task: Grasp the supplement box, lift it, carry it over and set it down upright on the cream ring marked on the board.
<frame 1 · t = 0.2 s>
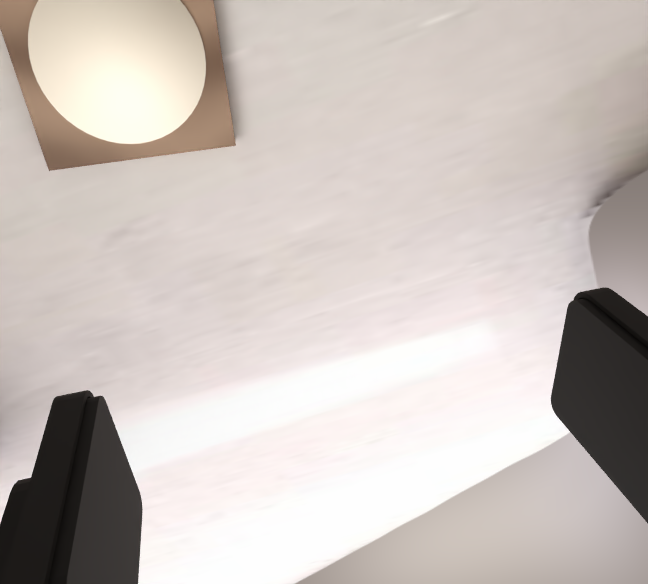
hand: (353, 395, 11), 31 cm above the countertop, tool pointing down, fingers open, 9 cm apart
target board: (122, 57, 34), on the countertop
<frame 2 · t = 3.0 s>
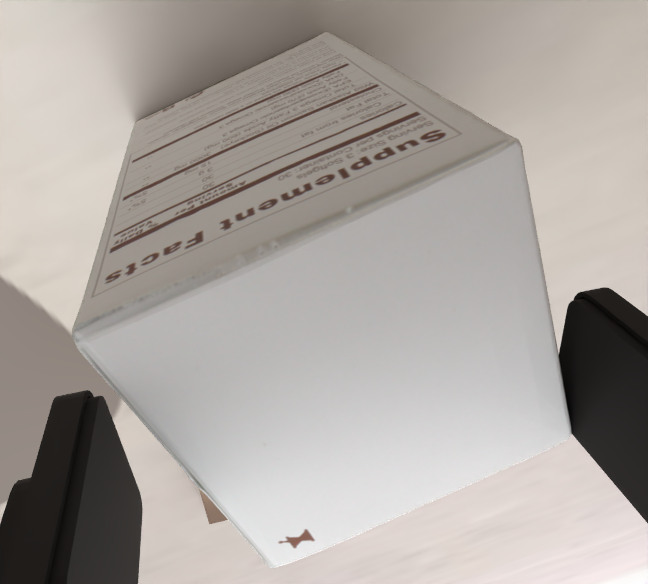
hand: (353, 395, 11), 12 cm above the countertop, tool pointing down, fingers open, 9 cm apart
supplement box: (272, 165, 20), on the countertop, touching gripper
target board: (311, 396, 27), on the countertop
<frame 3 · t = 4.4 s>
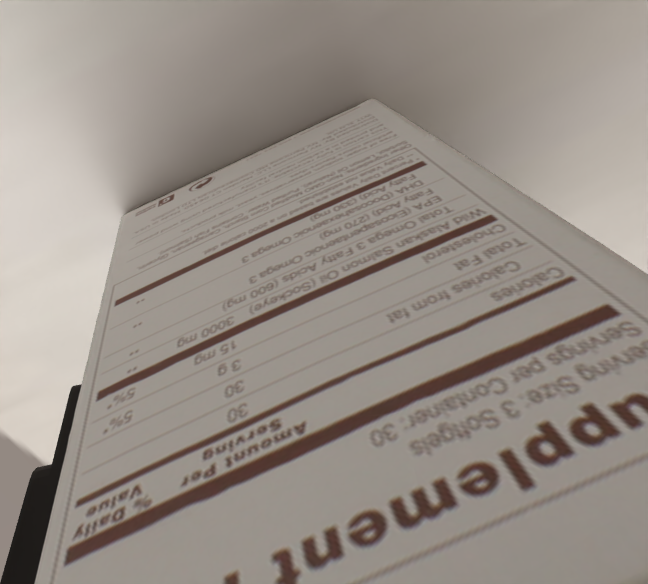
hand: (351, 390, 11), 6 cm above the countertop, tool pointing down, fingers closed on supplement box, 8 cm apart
supplement box: (297, 259, 16), on the countertop, touching gripper
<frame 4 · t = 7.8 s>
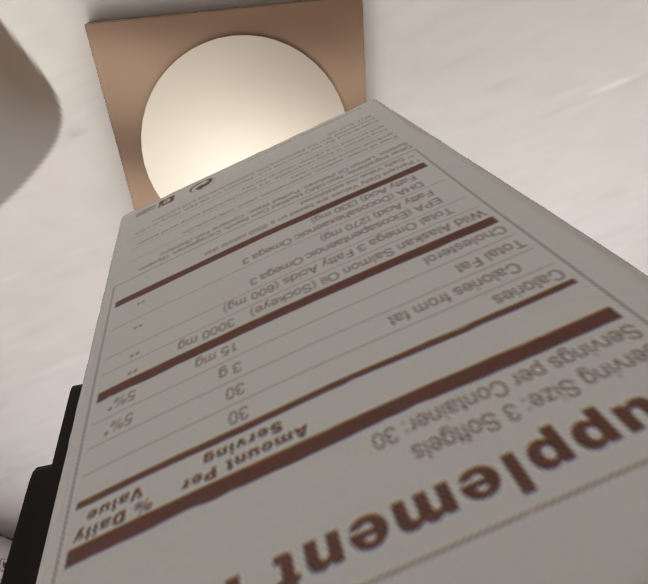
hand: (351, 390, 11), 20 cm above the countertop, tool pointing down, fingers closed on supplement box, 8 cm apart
supplement box: (297, 260, 16), point 14 cm above the countertop, touching gripper
target board: (246, 141, 28), on the countertop
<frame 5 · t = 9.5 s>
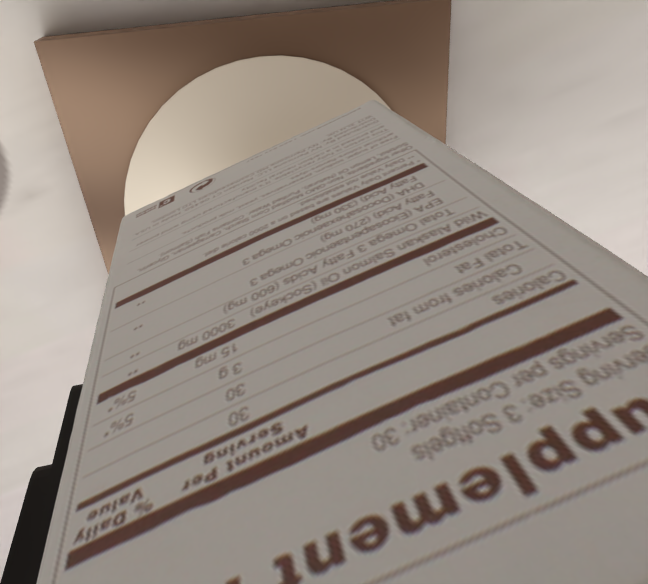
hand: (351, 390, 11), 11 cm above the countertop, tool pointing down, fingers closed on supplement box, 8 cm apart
supplement box: (297, 260, 16), point 5 cm above the countertop, touching gripper
target board: (273, 200, 20), on the countertop
when the fingers open (8 cm above the countertop, at t = 11.1 s): supplement box drops 1 cm, resting on target board.
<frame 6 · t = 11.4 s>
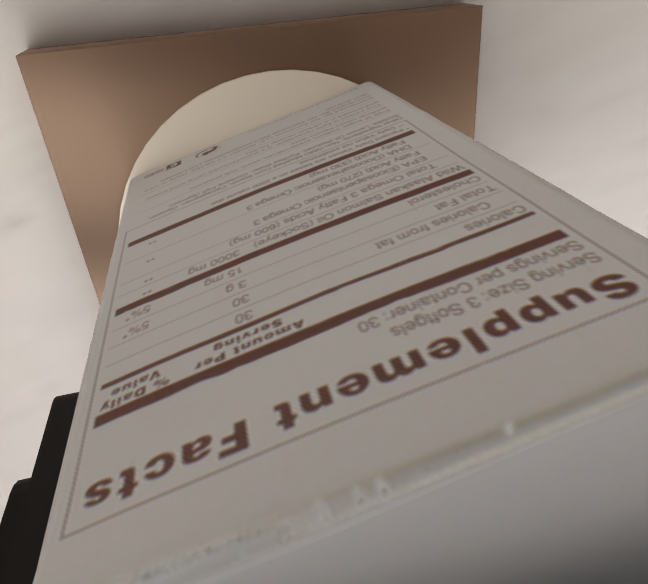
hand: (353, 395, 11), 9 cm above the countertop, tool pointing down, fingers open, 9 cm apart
supplement box: (292, 231, 17), point 1 cm above the countertop, touching target board
target board: (283, 225, 18), on the countertop
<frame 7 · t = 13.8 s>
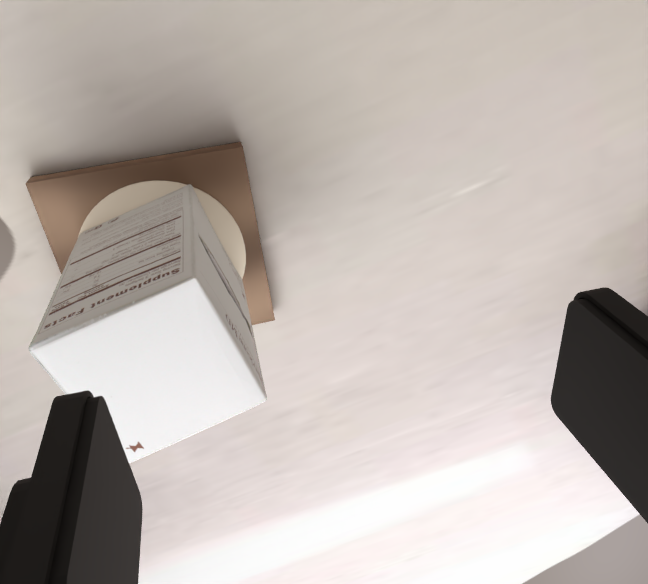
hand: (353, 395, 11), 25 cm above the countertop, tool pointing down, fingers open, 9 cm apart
supplement box: (165, 254, 34), point 1 cm above the countertop, touching target board
target board: (164, 251, 35), on the countertop
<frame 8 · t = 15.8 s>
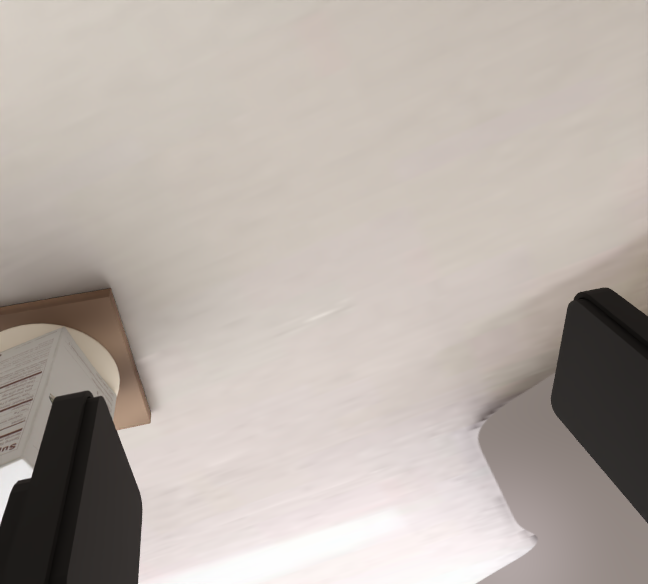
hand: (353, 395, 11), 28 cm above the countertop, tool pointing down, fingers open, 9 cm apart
supplement box: (47, 377, 40), point 1 cm above the countertop, touching target board
target board: (50, 371, 41), on the countertop
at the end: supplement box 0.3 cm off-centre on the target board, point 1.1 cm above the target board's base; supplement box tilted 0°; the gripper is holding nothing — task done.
